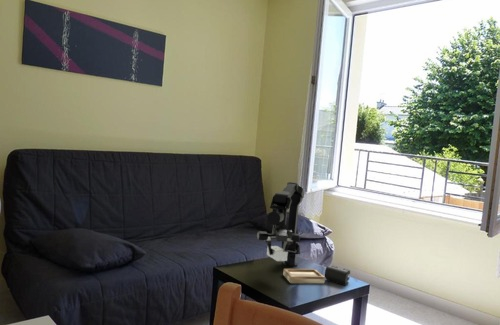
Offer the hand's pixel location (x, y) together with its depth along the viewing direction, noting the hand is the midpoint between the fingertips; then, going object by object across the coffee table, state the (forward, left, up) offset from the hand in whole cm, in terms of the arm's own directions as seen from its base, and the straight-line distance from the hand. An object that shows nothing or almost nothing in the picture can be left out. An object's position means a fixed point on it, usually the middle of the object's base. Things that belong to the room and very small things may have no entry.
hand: (276, 255), depth 177 cm
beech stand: (0, +14, -11) cm, 18 cm away
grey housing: (0, 0, -1) cm, 1 cm away
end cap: (+4, +29, -11) cm, 31 cm away
